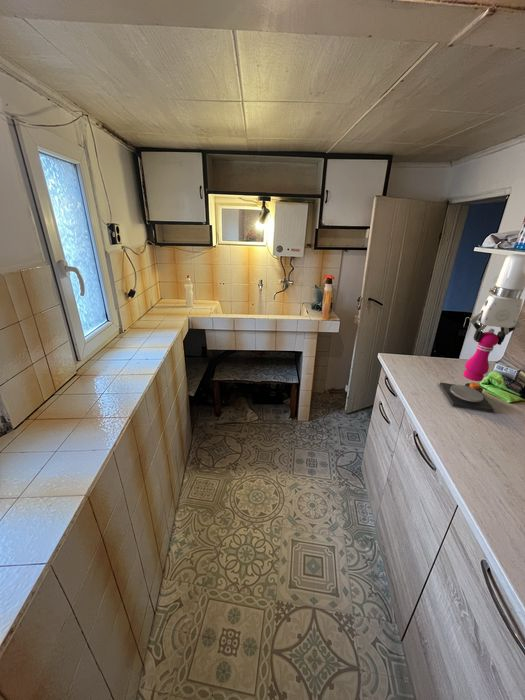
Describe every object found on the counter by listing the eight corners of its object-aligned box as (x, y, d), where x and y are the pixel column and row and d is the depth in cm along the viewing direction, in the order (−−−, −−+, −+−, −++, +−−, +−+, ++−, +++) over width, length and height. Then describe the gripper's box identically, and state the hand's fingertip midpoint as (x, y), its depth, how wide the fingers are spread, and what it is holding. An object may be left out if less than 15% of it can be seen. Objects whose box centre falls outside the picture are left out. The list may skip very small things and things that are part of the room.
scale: (476, 390, 120) (479, 384, 118) (494, 413, 105) (498, 406, 104) (439, 385, 123) (441, 379, 121) (452, 406, 108) (454, 399, 107)
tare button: (476, 386, 118) (477, 382, 117) (479, 390, 115) (481, 386, 114) (467, 385, 118) (469, 381, 117) (471, 389, 115) (472, 385, 115)
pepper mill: (461, 378, 107) (480, 329, 99) (461, 370, 113) (479, 323, 104) (484, 384, 104) (505, 334, 95) (483, 376, 109) (504, 328, 101)
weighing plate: (475, 388, 115) (476, 387, 115) (488, 404, 105) (488, 402, 105) (446, 384, 117) (446, 383, 117) (455, 399, 108) (456, 397, 107)
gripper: (482, 293, 93) (464, 342, 101) (544, 298, 89) (520, 349, 97) (473, 288, 100) (456, 335, 107) (530, 293, 96) (508, 341, 104)
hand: (487, 341), depth 102 cm, fingers closed on pepper mill, 6 cm apart
